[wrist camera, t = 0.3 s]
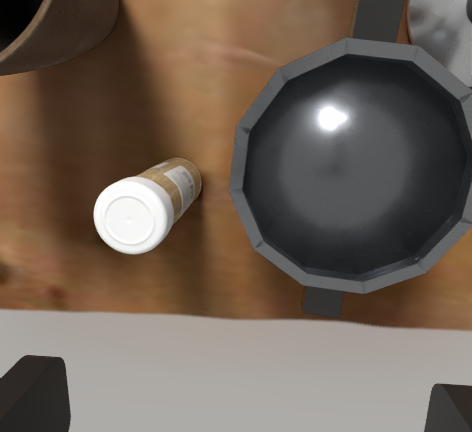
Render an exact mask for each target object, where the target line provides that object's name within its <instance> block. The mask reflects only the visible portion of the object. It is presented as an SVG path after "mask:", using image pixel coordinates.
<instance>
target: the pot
mask: <svg viewBox="0 0 472 432" xmlns="http://www.w3.org/2000/svg"><path fill="white" fill-rule="evenodd" d="M403 4H404V0H355V4H354V9H353V15H352V21H351V26H350V32H349V37H348V38H344V39H342V40H340V41H338V42H335V43H333V44H331V45H329V46H327V47H324V48H322V49H320V50H318V51H316V52H314V53H311V54H309V55H307V56H305V57H303V58H300V59H298V60H296V61H294V62H292V63H289V64H287V65H285V66H283V67H281V68H279V69H278V70H277V71H276V72H275V74H274V75H273V77H272V78H271V79H270V81H269V82H268V83H267V85H266V86H265V88H264V89H263V90H262V92H261V93H260V94H259V96H258V97H257V99H256V100H255V101H254V103H253V104H252V105H251V107H250V108H249V110H248V111H247V112H246V114H245V115H244V116H243V118H242V119H241V121H240V122H239V123H238V125H237V126H236V133H235V142H234V151H233V159H232V168H231V177H230V185H229V194H230V196H231V198H232V201H233V203H234V205H235V208H236V210H237V212H238V214H239V217H240V219H241V221H242V224H243V226H244V228H245V231H246V233H247V235H248V237H249V240H250V242H251V244H252V247H253V249H254V250H256V251H257V252H258V253H260V254H261V255H262V256H264V257H265V258H267V259H268V260H269V261H271V262H272V263H273V264H275V265H276V266H277V267H279V268H280V269H281V270H283V271H284V272H285V273H287V274H288V275H289V276H291V277H292V278H294V279H295V280H296V281H298V282H299V283H300V284H302V285H305V286H304V291H303V297H302V302H301V306H302V311H303V313H306V314H313V315H320V316H327V317H334V318H339V315H340V310H341V305H342V300H343V295H344V291H347V292H354V293H361V294H366V293H369V292H372V291H375V290H378V289H381V288H383V287H386V286H389V285H392V284H395V283H398V282H401V281H404V280H407V279H410V278H413V277H416V276H419V275H422V274H425V273H427V272H428V271H429V270H430V269H431V268H432V267H433V266H434V265H435V264H436V263H437V262H438V261H439V260H440V259H441V257H442V256H443V255H444V254H445V253H446V252H447V251H448V250H449V249H450V248H451V247H452V246H453V245H454V244H455V243H456V242H457V241H458V240H459V239H460V238H461V237H462V236H463V235H464V234H465V233H466V232H467V231H468V230H469V229H470V228H471V227H472V90H471V89H470V88H469V87H468V86H467V85H465V84H464V83H463V82H462V81H461V80H460V79H458V78H457V77H456V76H455V75H454V74H452V73H451V72H450V71H449V70H448V69H446V68H445V67H444V66H443V65H442V64H440V63H439V62H438V61H437V60H436V59H434V58H433V57H432V56H431V55H430V54H428V53H427V52H426V51H425V50H424V49H422V48H421V47H420V46H416V45H407V44H398V43H396V38H397V33H398V29H399V24H400V19H401V14H402V9H403Z"/></svg>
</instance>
